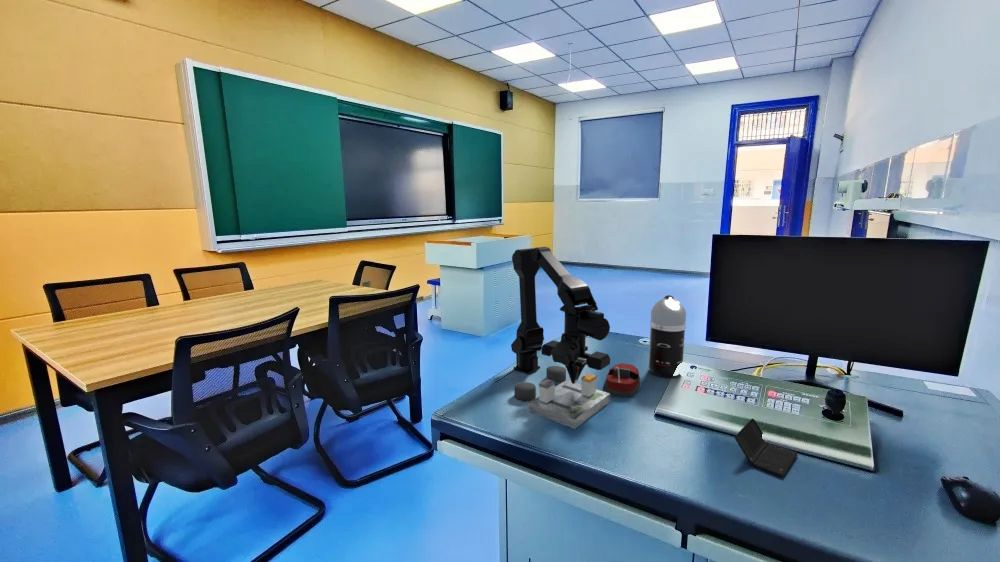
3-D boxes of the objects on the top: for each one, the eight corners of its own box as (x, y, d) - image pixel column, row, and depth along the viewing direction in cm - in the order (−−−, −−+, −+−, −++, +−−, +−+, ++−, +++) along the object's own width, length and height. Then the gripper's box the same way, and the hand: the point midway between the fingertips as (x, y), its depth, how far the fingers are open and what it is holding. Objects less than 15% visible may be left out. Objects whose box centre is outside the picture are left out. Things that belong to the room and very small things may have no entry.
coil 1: (510, 397, 120) (510, 387, 120) (523, 390, 125) (523, 380, 124) (527, 403, 116) (526, 393, 116) (540, 395, 121) (540, 386, 120)
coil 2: (542, 379, 131) (542, 370, 131) (553, 373, 136) (553, 364, 135) (558, 384, 127) (558, 375, 127) (569, 378, 132) (569, 369, 131)
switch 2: (581, 394, 115) (581, 377, 114) (588, 389, 118) (588, 373, 117) (589, 396, 113) (589, 380, 112) (596, 392, 116) (596, 375, 115)
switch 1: (539, 400, 112) (539, 383, 111) (547, 395, 115) (547, 378, 114) (546, 403, 110) (546, 385, 109) (554, 398, 113) (555, 381, 112)
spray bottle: (685, 370, 136) (690, 293, 131) (679, 381, 128) (684, 300, 123) (652, 364, 142) (655, 290, 137) (644, 374, 133) (647, 297, 128)
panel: (528, 411, 112) (528, 402, 112) (566, 388, 125) (566, 379, 125) (574, 429, 103) (574, 419, 102) (609, 402, 116) (610, 393, 115)
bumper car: (643, 377, 132) (644, 346, 130) (634, 405, 114) (636, 370, 112) (611, 372, 136) (611, 342, 134) (598, 399, 118) (598, 365, 116)
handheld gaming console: (796, 475, 82) (763, 426, 85) (759, 485, 86) (730, 438, 89) (800, 454, 91) (770, 410, 94) (767, 465, 95) (739, 422, 98)
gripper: (529, 330, 115) (529, 383, 118) (590, 345, 103) (589, 404, 106) (552, 320, 123) (552, 371, 127) (612, 333, 111) (610, 389, 114)
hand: (574, 383), depth 118 cm, fingers closed
